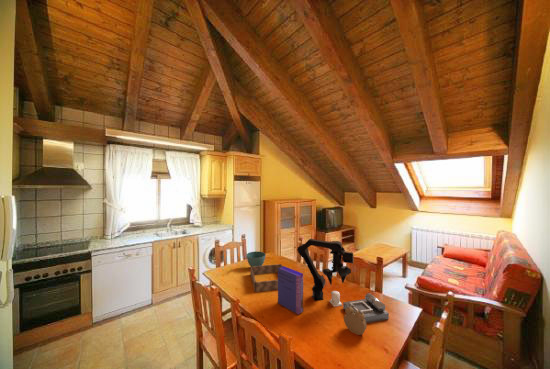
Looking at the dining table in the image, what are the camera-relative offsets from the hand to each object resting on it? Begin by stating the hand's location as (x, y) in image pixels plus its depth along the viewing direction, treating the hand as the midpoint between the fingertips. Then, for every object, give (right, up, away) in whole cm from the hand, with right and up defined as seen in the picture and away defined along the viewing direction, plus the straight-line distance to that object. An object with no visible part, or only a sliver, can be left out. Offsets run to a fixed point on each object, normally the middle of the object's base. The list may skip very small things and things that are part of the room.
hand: (336, 283), depth 138 cm
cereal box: (-32, -13, -5) cm, 35 cm away
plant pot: (-60, -13, +58) cm, 85 cm away
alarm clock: (+1, -13, -28) cm, 31 cm away
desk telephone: (+14, -13, -12) cm, 22 cm away
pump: (-1, -13, -1) cm, 13 cm away
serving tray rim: (-46, -13, +31) cm, 57 cm away
